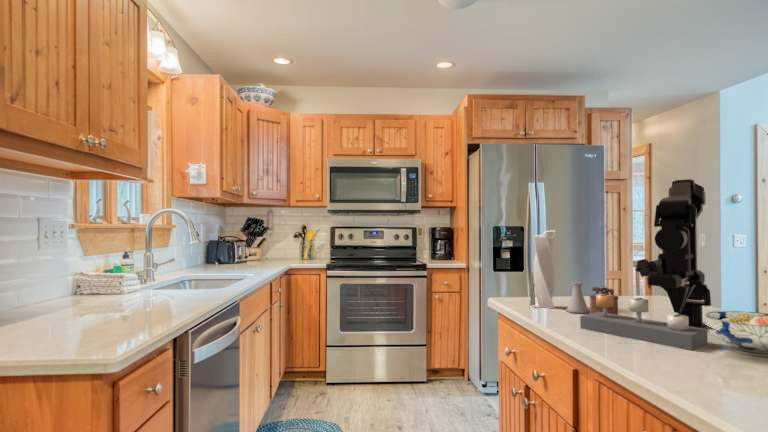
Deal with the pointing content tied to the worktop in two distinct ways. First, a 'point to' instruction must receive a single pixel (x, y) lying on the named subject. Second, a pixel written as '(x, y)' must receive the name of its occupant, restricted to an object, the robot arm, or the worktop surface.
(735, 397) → the worktop surface
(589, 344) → the worktop surface
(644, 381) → the worktop surface
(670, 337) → the knob mount
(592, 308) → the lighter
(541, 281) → the skyscraper
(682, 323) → the knob
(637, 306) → the knob centre
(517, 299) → the worktop surface
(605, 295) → the knob
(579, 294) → the flask
